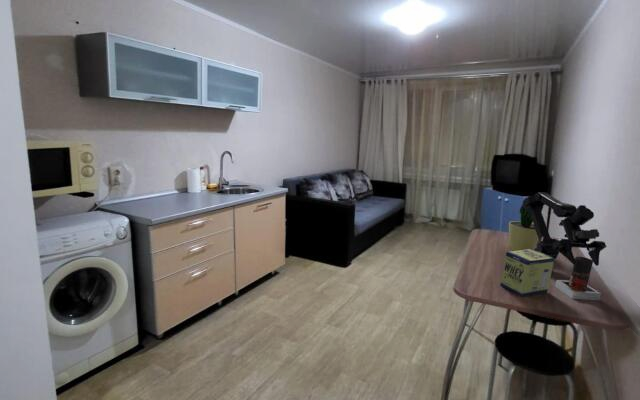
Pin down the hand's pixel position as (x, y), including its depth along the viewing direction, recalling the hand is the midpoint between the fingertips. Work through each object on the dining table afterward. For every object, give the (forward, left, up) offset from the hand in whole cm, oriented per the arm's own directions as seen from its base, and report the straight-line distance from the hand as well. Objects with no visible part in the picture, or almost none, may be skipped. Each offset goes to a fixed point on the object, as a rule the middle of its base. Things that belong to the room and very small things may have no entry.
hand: (585, 264), depth 140 cm
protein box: (+16, -14, -14) cm, 26 cm away
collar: (-1, -1, -13) cm, 13 cm away
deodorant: (-1, -1, -13) cm, 14 cm away
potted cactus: (-32, -40, -14) cm, 53 cm away
